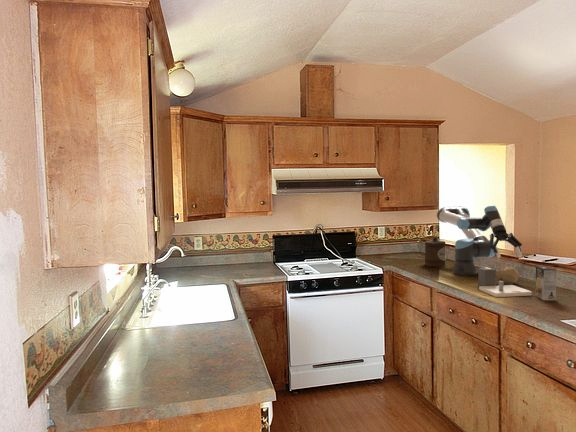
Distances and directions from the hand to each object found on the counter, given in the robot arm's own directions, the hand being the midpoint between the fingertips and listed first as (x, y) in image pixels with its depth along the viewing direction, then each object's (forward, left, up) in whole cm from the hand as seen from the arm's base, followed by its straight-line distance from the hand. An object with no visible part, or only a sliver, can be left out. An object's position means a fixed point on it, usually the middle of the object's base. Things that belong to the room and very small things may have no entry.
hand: (510, 257), depth 243 cm
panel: (+23, -18, -15) cm, 33 cm away
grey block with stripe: (+11, -21, -15) cm, 29 cm away
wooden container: (-63, -18, -16) cm, 67 cm away
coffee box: (+37, -5, -16) cm, 41 cm away
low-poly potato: (+3, -4, -16) cm, 16 cm away
